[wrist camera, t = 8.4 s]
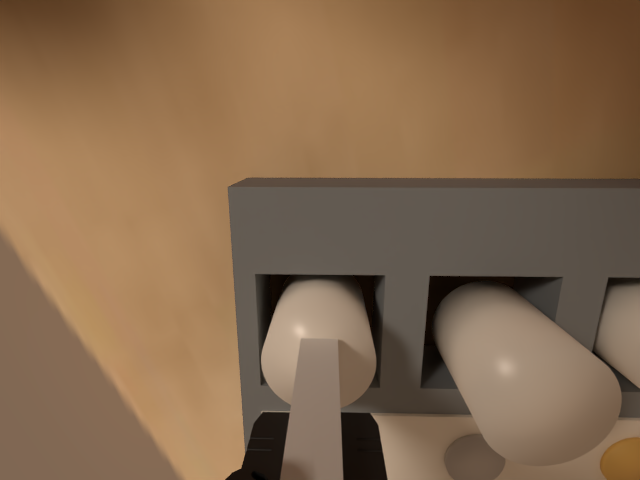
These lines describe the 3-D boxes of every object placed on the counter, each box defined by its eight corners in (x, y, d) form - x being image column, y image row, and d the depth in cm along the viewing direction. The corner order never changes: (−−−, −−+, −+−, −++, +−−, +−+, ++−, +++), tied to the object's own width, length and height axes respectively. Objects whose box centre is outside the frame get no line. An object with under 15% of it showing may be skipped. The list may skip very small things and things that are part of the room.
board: (260, 437, 24) (245, 502, 20) (247, 177, 20) (224, 188, 15) (631, 444, 24) (699, 513, 19) (704, 179, 19) (814, 190, 15)
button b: (427, 366, 19) (470, 465, 13) (435, 280, 18) (486, 347, 12) (521, 367, 19) (605, 467, 13) (535, 280, 18) (636, 349, 12)
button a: (281, 338, 22) (263, 410, 16) (278, 261, 20) (258, 309, 15) (362, 339, 22) (374, 412, 16) (364, 262, 20) (378, 311, 15)
